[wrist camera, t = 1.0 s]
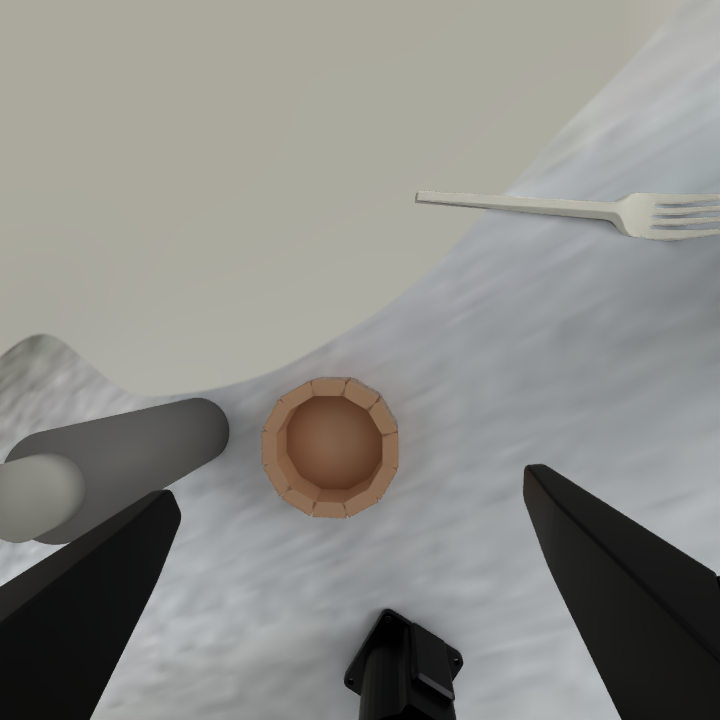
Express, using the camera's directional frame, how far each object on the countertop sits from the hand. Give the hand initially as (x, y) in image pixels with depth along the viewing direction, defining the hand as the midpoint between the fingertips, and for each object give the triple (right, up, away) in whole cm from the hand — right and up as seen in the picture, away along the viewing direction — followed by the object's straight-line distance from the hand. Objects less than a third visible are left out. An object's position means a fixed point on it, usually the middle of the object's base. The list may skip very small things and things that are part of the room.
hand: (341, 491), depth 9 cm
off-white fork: (+14, +14, +16) cm, 26 cm away
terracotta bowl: (-1, -2, +17) cm, 17 cm away
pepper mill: (-12, -2, +18) cm, 22 cm away
